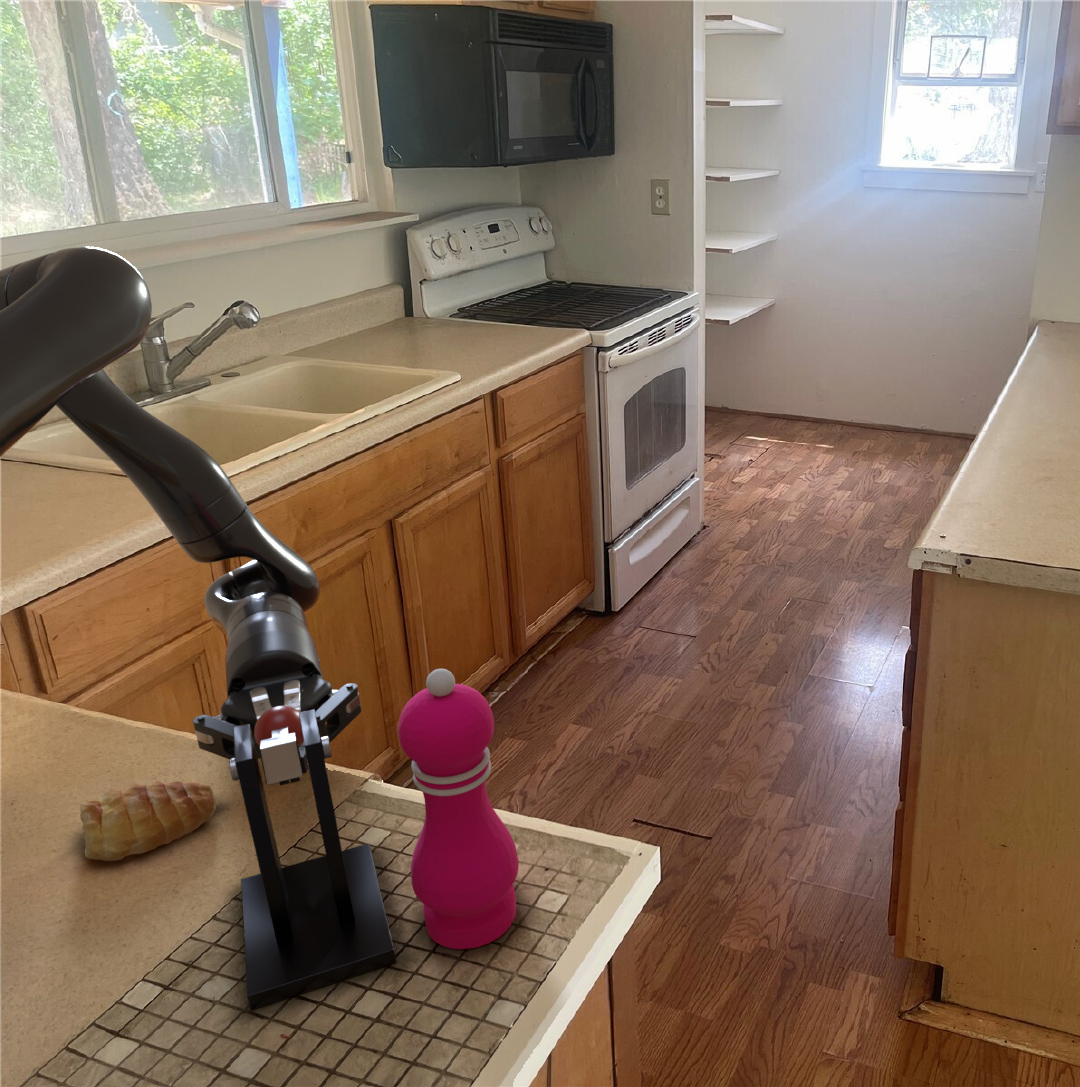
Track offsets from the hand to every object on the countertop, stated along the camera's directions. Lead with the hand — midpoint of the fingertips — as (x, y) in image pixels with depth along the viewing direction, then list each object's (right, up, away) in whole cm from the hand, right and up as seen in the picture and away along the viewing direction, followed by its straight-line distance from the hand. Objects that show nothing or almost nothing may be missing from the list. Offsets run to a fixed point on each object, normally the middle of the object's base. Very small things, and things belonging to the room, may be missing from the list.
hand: (288, 773), depth 75 cm
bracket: (+4, -10, -4) cm, 11 cm away
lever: (+2, +1, -4) cm, 5 cm away
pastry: (-14, -6, +6) cm, 17 cm away
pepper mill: (+14, -10, -3) cm, 18 cm away
